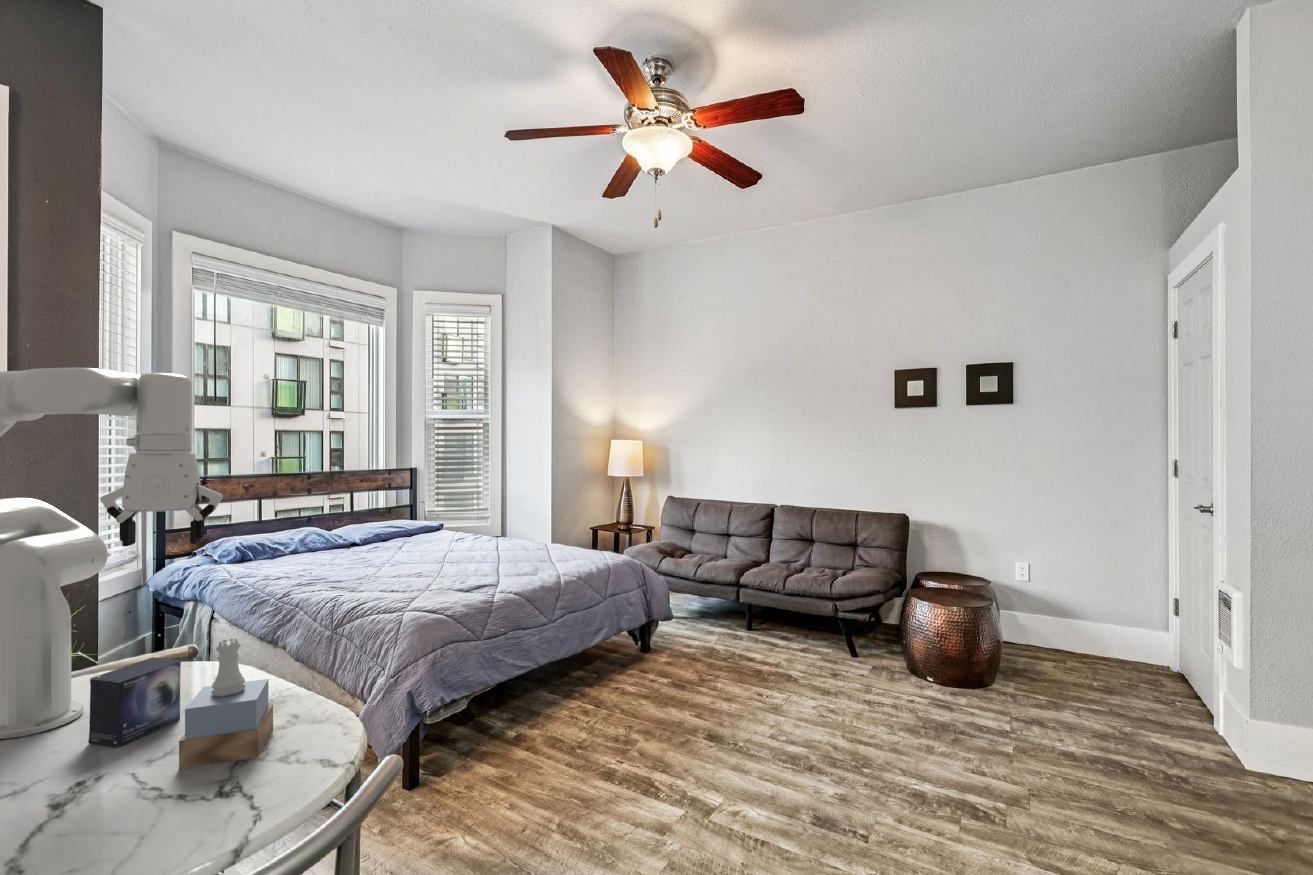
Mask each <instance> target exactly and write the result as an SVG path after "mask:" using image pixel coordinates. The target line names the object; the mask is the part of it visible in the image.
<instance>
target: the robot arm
mask: <svg viewBox="0 0 1313 875" xmlns="http://www.w3.org/2000/svg"><path fill="white" fill-rule="evenodd" d="M192 386H193V384H192V382H191V379H190V377H187V376H185V375H182V374H177V373H170V372H169V373H166V372H147V373H143V374H137V373H129V372H122V371H116V370H111V369H109V370H108V369H105V368H104V369H101V368H92V367H53V368H52V367H48V368H47V367H44V368H42V367H41V368H30V369H25V370H9V371H8V370H5V371H2V370H1V371H0V438H1V437H2V436H4V435H5V433H6V432H8V431H9V430H10V429H11V428H13V426H14V425H15V424H16V423H17V422H27V421H28V422H29V421H30V422H31V421H36V420H39V419H41V418H43V417H44V416H45V415H74V414H75V415H76V414H77V415H78V414H79V415H80V414H81V415H106V416H107V415H108V416H109V415H110V416H123V417H132V416H133V417H135V416H136V434H134V437H128V438H126V440H125V443H126V446H127V447H134V450H136V452H133V453H131V452H130V453H129V455H128V459H127V461H126V467H125V472H124V477H123V485H122V487H121V488H119V489H116V490H114V491H111V492H109V493H107V494H105V495H102V496H101V497H100V498H99V499H100V502H101V503H102V505H103V506H104V508H105V509H106V513H107V514H109V515H110V516H112V517H113V518H114V519H115V520H116V522H117V523H119V541H120V542H121V545H122V547H129V546H132V545H134V544H136V534H137V533H136V527H137V526H136V521H135V520H134V517H135V516H136V515H137V514H139V513H141V512H142V513H143V512H144V513H145V512H147V513H148V512H180V511H181V512H182V511H185V512H187V513H188V514H189V515H190V516H191V517H192V521H190V523H189V524H190V528H189V530H190V531H189V535H190V536H189V537H190V538H189V542H190V544H191V545H196V544H199V543H200V542H201V541H202V539H204V537H205V520H206V519H207V518H208V517H209V516H210V515H211V514H212V513H213V512H215V511H216V509H217V507H218V506H219V504H220V503H221V501H222V500H223V497H224V495H223V494H222V493H220V492H217V491H215V490H213V489H211V488H208V487H205V486H203V485H201V480H200V479H201V478H200V477H201V476H200V471H199V470H200V469H199V465H198V459H197V455H196V453H195V452H192V401H193V400H192V399H193V398H192V395H193V391H192V390H193V388H192ZM201 496H203V497H206V498H208V499H209V502H208V503H207V505H206V506H205V507H203V508H202V507H201V506H200V504H201ZM118 499H121V505H122V508H123V509H122V508H121V507H120V506H119V505H117V502H116V501H117V500H118ZM108 556H109V555H108V548H107V546H106V543H105V542H104V541H103V539H102V538H101V537H100V535H98V534H97V533H96V532H94V531H93V530H91V529H90V528H89V527H87V526H85V525H84V524H82V523H80V522H79V521H78V520H76V519H74V518H73V517H71V516H69V515H68V514H66V513H64V512H63V511H61V510H60V509H58V508H57V507H55V506H54V505H51V504H49V503H47V502H45V501H42V500H40V499H36V498H31V497H10V498H9V497H8V498H7V497H6V498H0V740H1V739H2V740H3V739H5V740H6V739H12V738H19V737H25V736H30V735H34V734H37V733H41V732H42V733H43V732H45V731H48V730H52V729H56V728H59V727H61V726H64V725H65V724H66V725H67V724H68V723H71V722H72V721H74V720H76V719H78V718H79V717H80V716H81V715H82V714H83V713H84V704H82V703H81V702H78V701H73V700H72V613H71V608H70V605H69V603H68V601H67V598H66V597H65V595H64V593H63V591H62V589H61V587H63V586H67V585H70V584H74V583H77V582H82V581H84V580H87V579H90V578H91V577H94V576H95V575H97V574H98V573H99V572H100V571H101V570H102V569H103V568H104V567H105V566H106V564H107V561H108Z"/></svg>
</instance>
